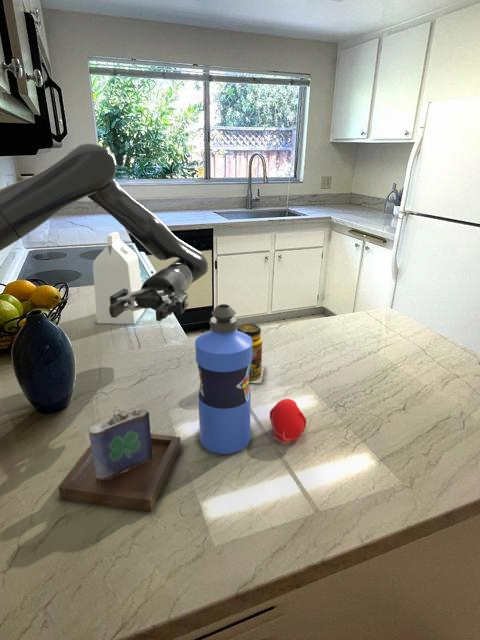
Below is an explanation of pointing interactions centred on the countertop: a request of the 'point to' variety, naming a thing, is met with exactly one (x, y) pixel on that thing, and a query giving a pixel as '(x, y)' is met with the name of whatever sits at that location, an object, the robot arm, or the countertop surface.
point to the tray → (123, 479)
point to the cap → (287, 420)
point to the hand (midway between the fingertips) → (134, 314)
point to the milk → (116, 279)
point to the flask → (120, 442)
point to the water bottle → (224, 383)
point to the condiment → (254, 351)
